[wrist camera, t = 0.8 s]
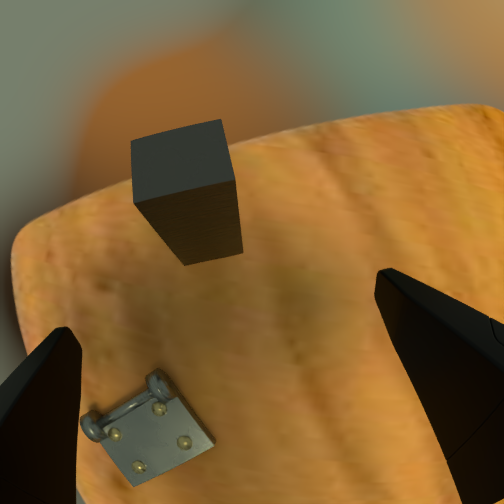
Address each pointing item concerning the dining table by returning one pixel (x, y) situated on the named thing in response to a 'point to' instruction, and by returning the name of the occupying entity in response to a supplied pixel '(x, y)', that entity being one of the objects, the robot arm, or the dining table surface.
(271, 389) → the dining table surface
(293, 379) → the dining table surface
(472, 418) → the robot arm
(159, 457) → the fixed hinge leaf
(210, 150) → the dark grey block
